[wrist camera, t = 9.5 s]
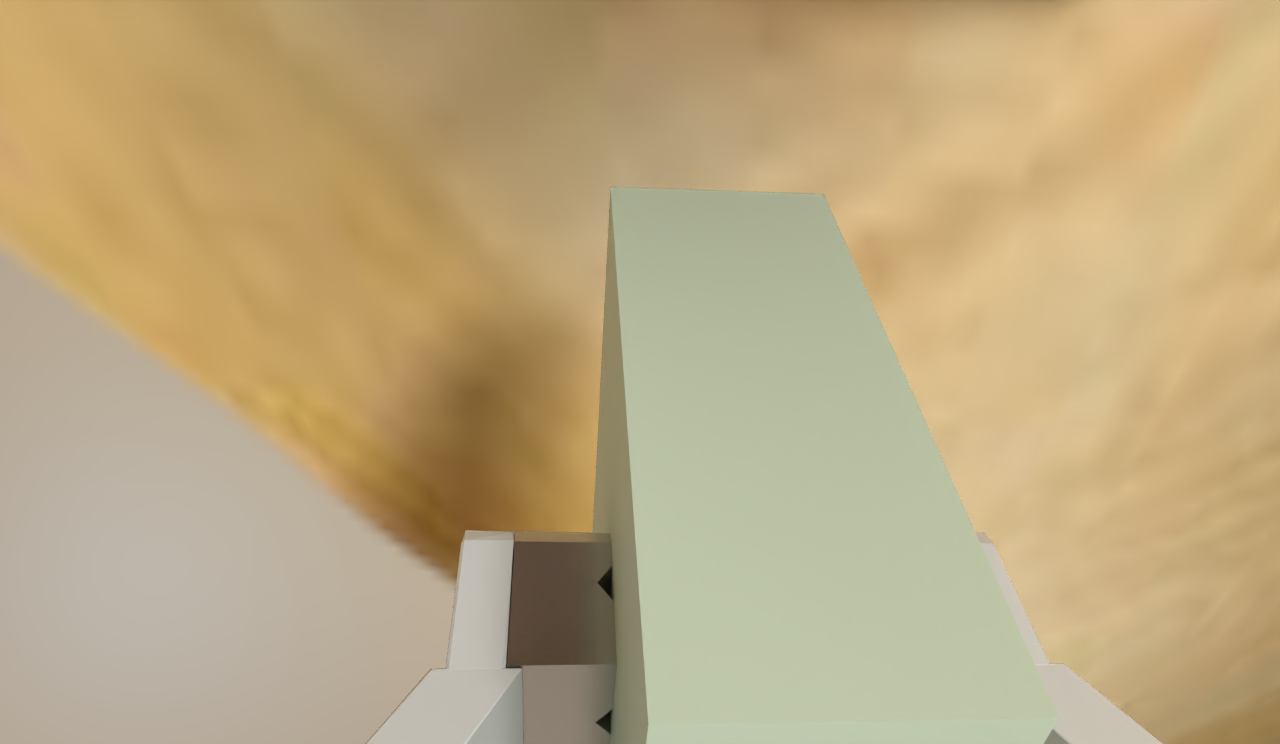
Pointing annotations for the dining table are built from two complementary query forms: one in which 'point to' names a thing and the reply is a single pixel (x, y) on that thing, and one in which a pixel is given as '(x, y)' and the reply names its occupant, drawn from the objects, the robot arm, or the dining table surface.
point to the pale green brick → (782, 499)
